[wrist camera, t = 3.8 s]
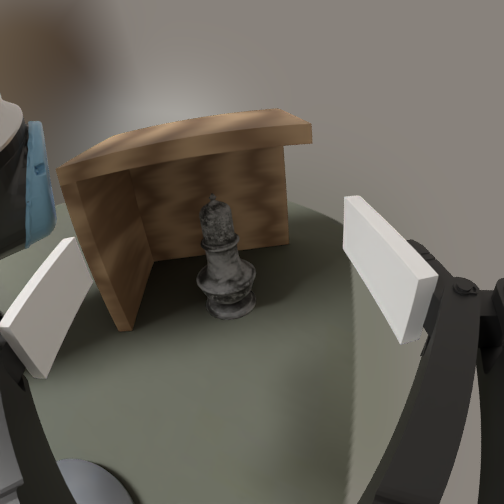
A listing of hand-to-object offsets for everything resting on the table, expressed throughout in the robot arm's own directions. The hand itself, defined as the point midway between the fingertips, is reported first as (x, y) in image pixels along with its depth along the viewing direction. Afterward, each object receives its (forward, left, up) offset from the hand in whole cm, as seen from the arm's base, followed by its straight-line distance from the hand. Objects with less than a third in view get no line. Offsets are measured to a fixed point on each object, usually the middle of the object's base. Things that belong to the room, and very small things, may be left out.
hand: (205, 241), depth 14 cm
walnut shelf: (-3, +17, -14) cm, 23 cm away
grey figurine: (-1, +12, -14) cm, 19 cm away
